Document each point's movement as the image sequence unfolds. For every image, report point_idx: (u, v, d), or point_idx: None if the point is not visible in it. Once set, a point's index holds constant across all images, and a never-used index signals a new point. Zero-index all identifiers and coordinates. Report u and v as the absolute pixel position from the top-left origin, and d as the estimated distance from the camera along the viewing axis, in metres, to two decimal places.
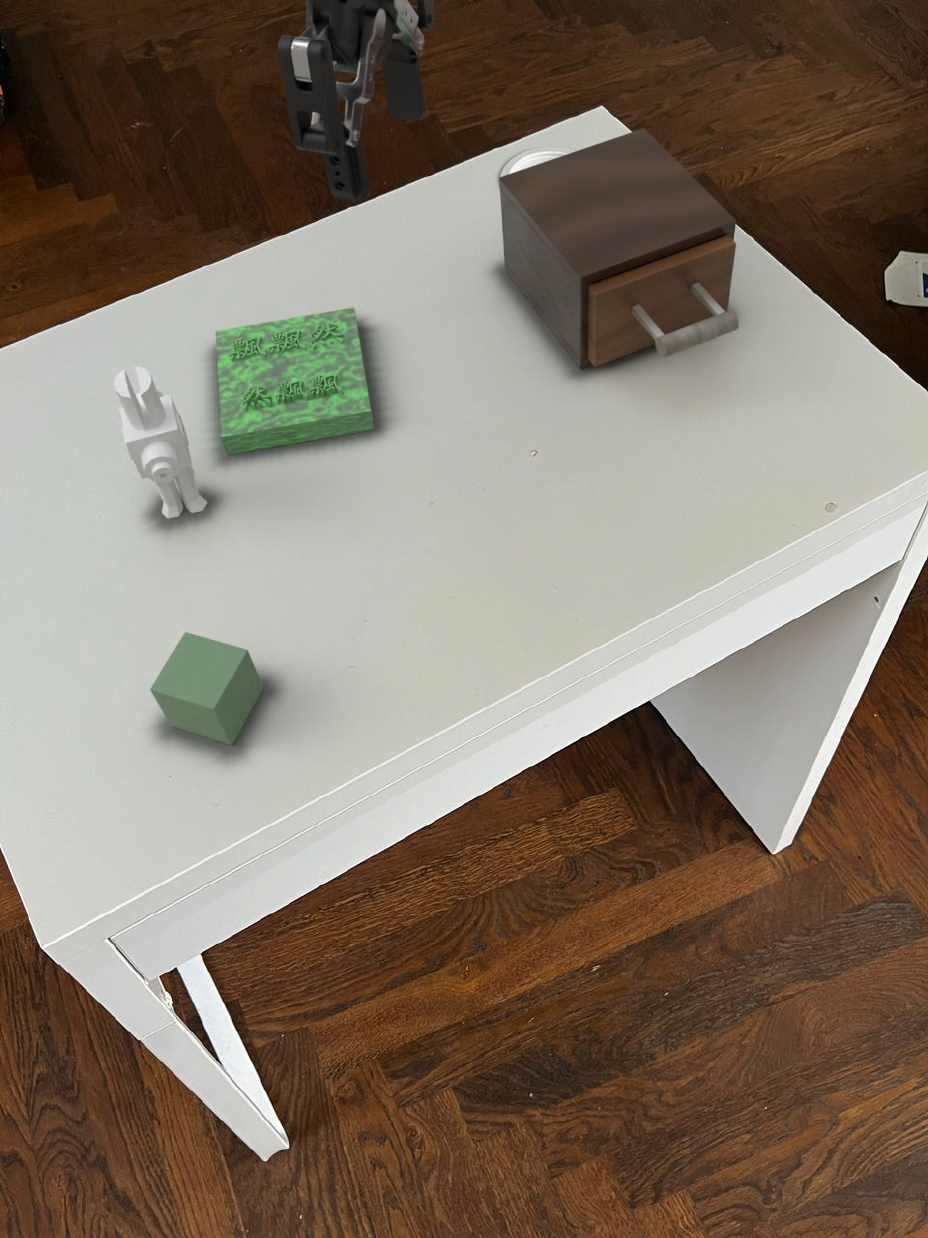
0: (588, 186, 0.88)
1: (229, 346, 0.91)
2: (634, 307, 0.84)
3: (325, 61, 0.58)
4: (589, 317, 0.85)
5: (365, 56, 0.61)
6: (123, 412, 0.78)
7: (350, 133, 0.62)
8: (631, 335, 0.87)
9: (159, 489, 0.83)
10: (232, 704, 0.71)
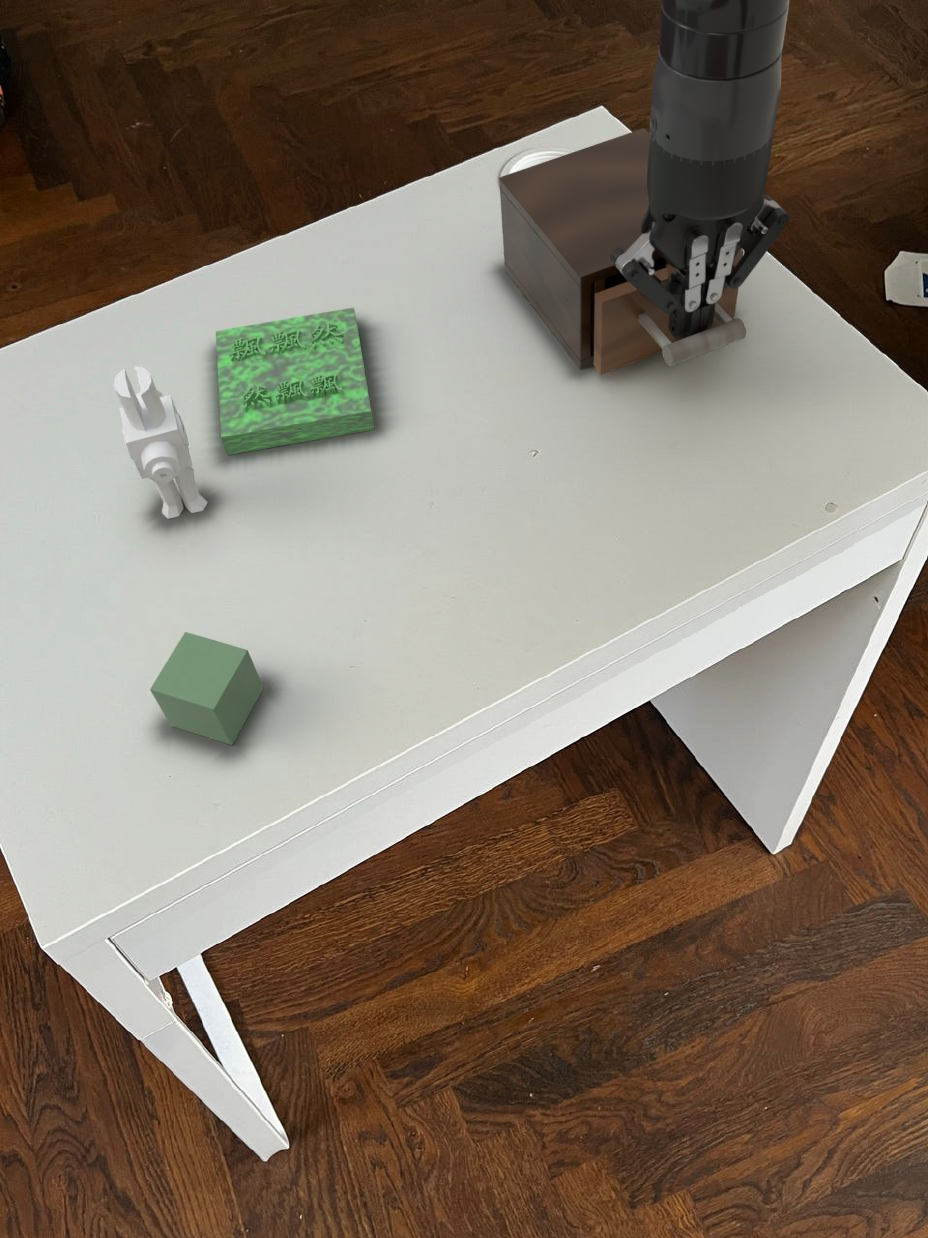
0: (588, 186, 0.88)
1: (229, 346, 0.91)
2: (640, 315, 0.84)
3: None
4: (595, 325, 0.84)
5: (689, 266, 0.76)
6: (123, 412, 0.78)
7: (685, 307, 0.80)
8: (637, 343, 0.86)
9: (159, 489, 0.83)
10: (232, 704, 0.71)
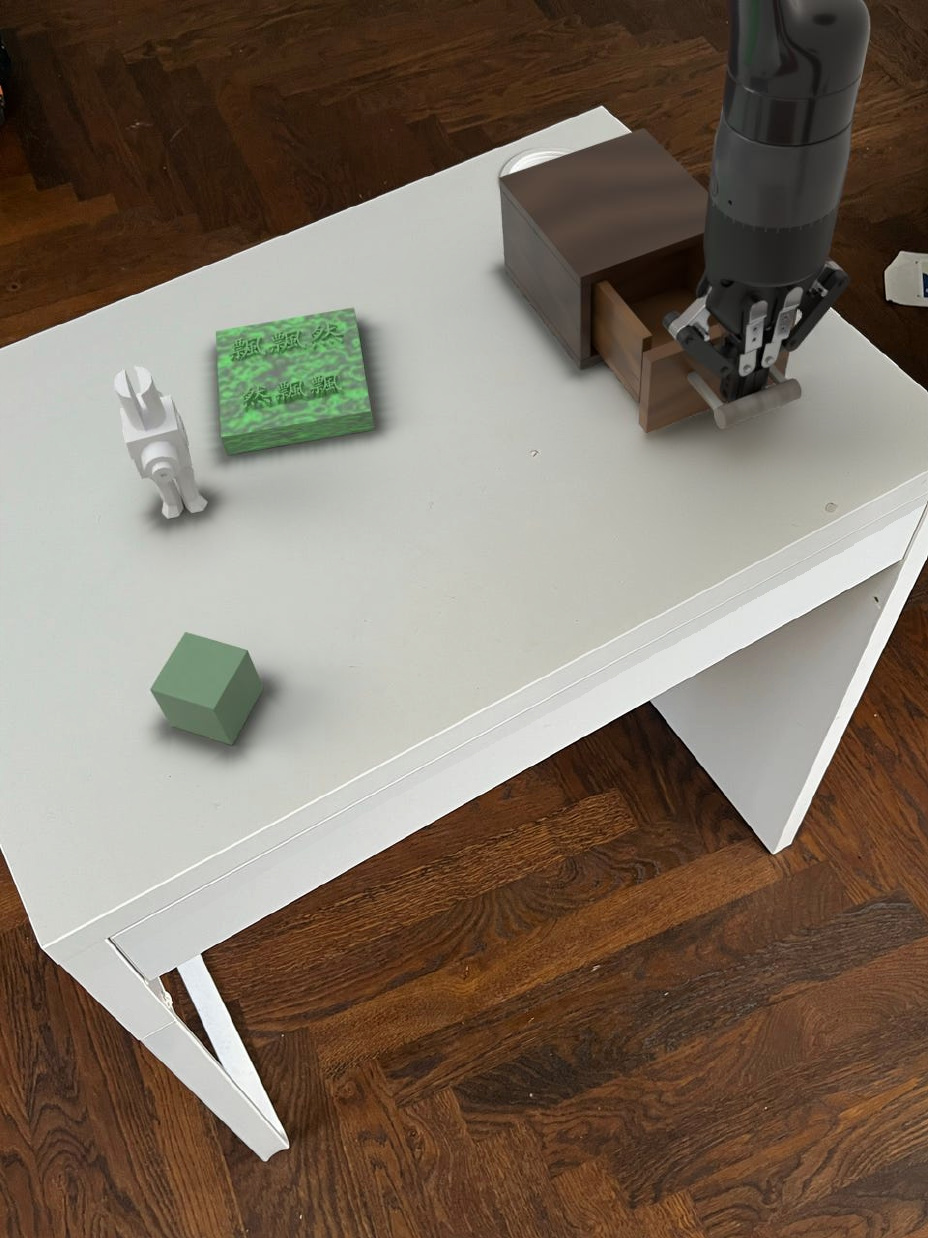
0: (588, 186, 0.88)
1: (229, 346, 0.91)
2: (690, 374, 0.80)
3: (690, 345, 0.72)
4: (642, 384, 0.80)
5: (745, 331, 0.72)
6: (123, 412, 0.78)
7: (739, 371, 0.76)
8: (685, 401, 0.82)
9: (159, 489, 0.83)
10: (232, 704, 0.71)
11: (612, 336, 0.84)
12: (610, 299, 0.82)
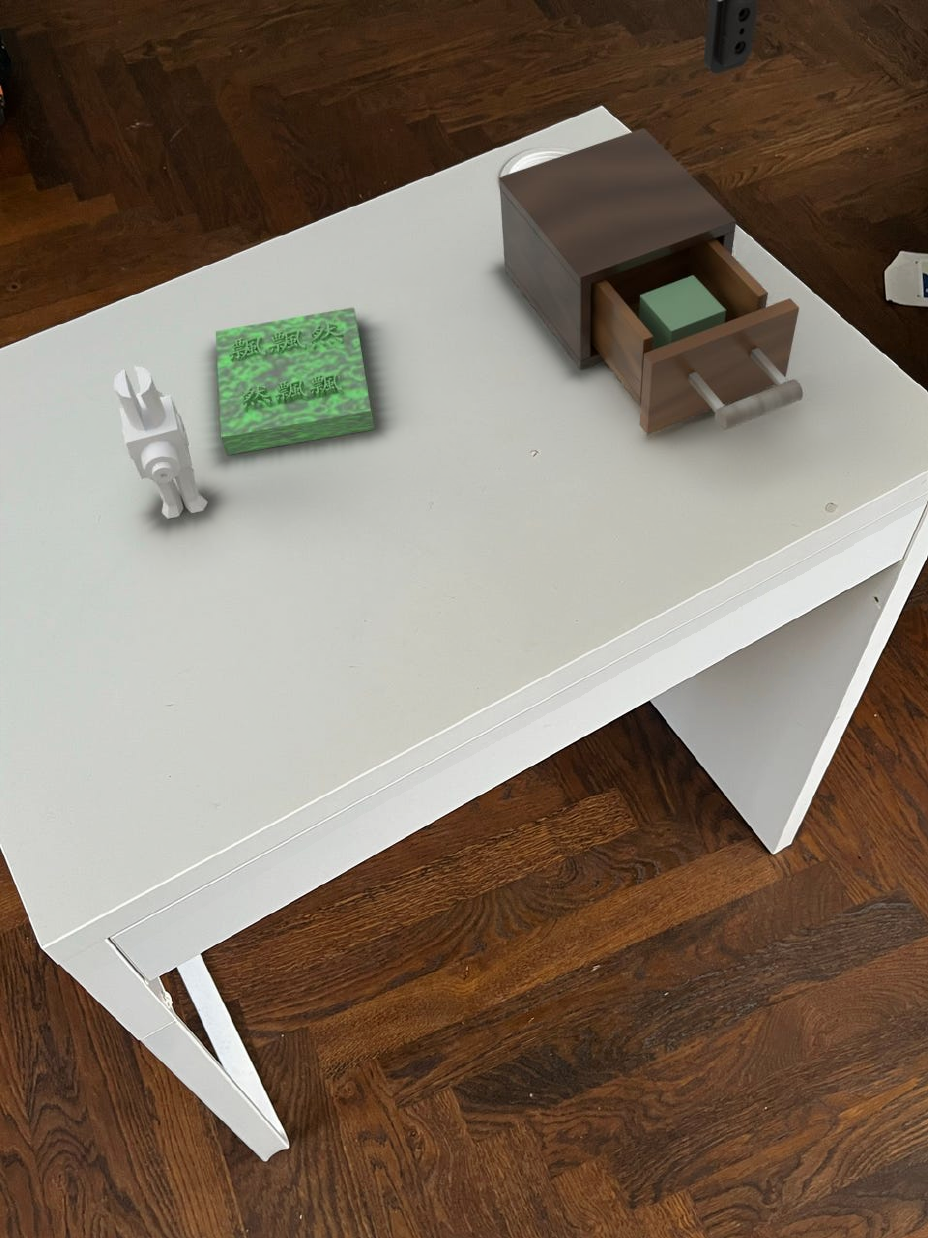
0: (588, 186, 0.88)
1: (229, 346, 0.91)
2: (691, 375, 0.80)
3: None
4: (643, 385, 0.80)
5: None
6: (123, 412, 0.78)
7: None
8: (686, 402, 0.82)
9: (159, 489, 0.83)
10: None
11: (612, 337, 0.84)
12: (611, 300, 0.82)
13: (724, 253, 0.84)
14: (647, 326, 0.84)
